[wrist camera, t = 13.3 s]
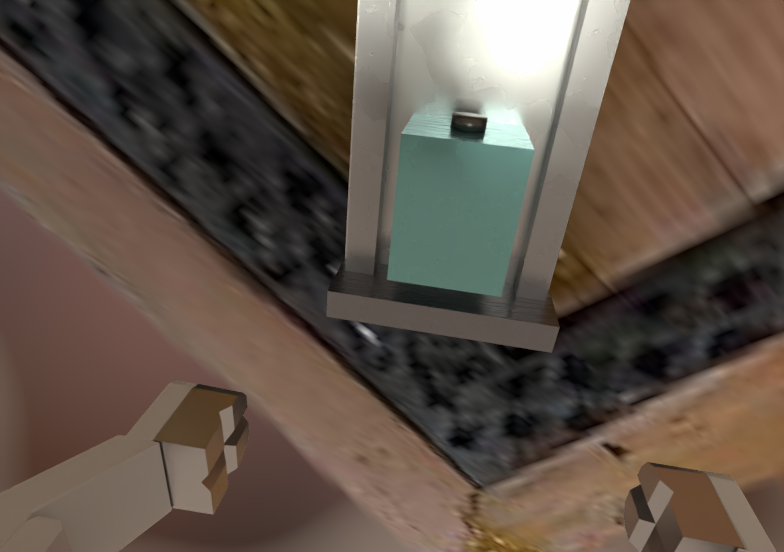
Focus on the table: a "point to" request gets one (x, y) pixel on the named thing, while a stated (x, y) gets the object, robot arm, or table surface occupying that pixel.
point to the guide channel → (501, 105)
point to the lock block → (458, 201)
